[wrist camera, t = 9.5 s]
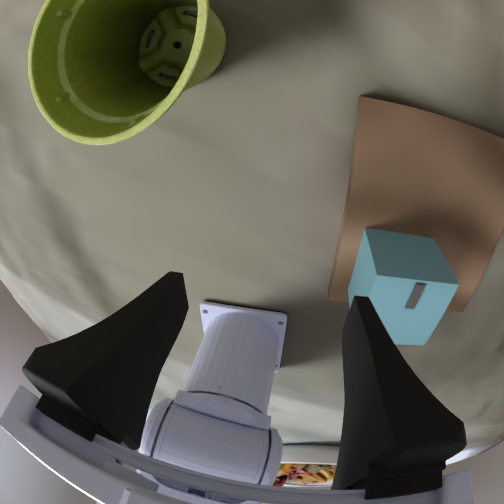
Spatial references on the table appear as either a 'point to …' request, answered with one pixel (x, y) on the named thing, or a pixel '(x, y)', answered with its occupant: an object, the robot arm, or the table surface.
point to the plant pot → (118, 63)
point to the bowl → (307, 465)
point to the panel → (423, 190)
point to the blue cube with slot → (403, 283)
